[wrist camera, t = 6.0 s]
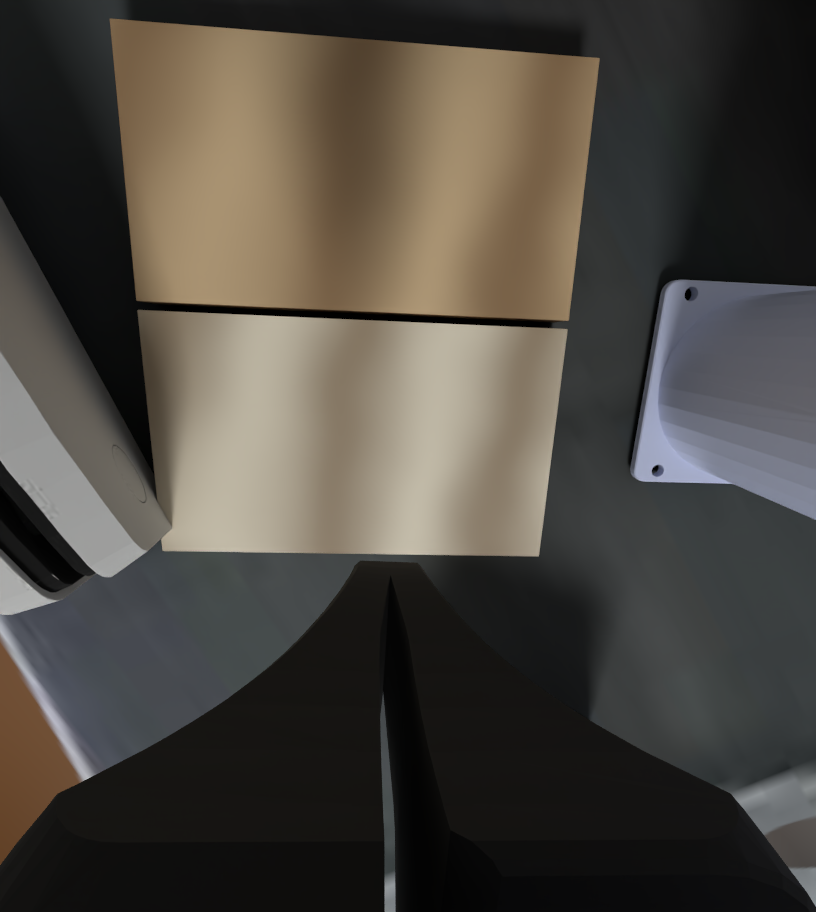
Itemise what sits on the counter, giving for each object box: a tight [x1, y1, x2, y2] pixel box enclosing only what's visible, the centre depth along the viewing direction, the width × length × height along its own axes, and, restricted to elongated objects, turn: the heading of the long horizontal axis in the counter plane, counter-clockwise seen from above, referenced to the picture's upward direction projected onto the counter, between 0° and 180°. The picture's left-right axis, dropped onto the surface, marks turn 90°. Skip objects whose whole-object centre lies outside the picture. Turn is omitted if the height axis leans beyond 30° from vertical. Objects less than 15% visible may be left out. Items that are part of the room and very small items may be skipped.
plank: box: [110, 19, 600, 322], centre depth 16 cm, size 15×8×2 cm, turn 88°
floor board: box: [137, 310, 567, 556], centre depth 18 cm, size 15×9×2 cm, turn 88°
